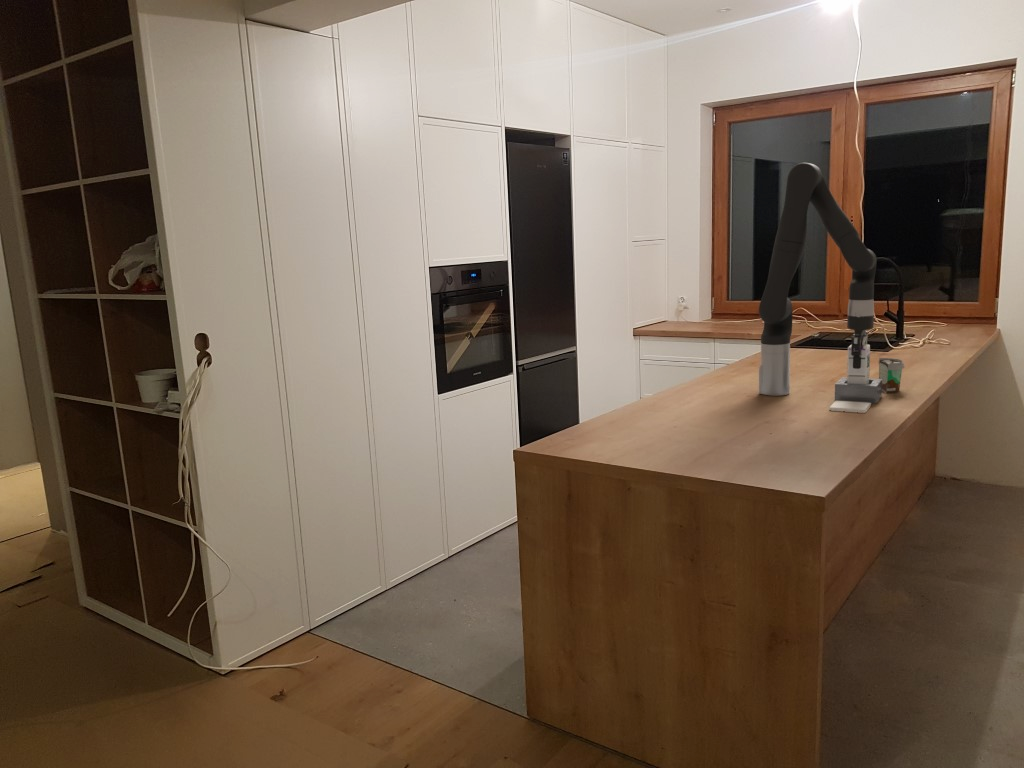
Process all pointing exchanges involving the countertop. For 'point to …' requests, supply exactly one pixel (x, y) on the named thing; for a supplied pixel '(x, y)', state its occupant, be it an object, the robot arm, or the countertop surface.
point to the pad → (850, 406)
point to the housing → (858, 391)
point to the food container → (890, 374)
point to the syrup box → (863, 373)
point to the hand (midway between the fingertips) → (858, 366)
